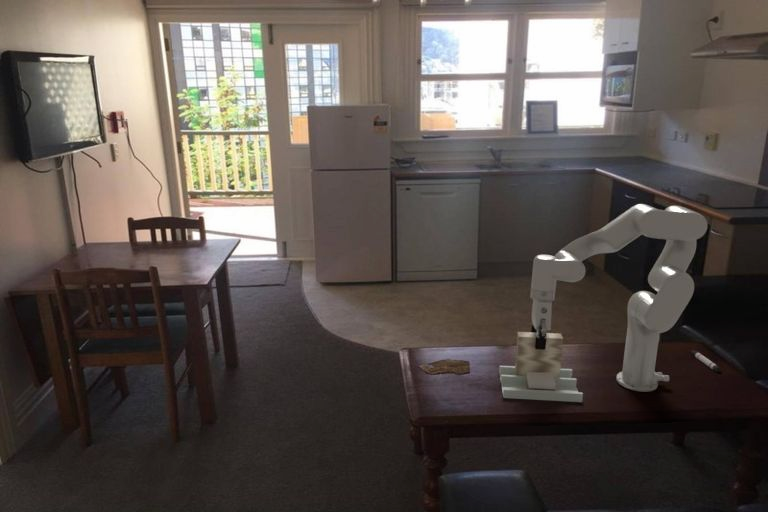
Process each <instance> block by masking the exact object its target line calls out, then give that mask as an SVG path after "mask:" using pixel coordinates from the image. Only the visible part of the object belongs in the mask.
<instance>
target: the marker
mask: <svg viewBox="0 0 768 512" xmlns="http://www.w3.org/2000/svg"><path fill="white" fill-rule="evenodd" d="M690 350H691V354H692V356H693V357H695V358H696V359H698V360H699V361H700V362H702V363H703V364H704V365H706V366H707V367H709V368H710V369H711V370H713V371H714V372H716V373H717V372H721V370H722V369H721V366H719V365H717V364H716V363H714V362H713V361H711V360H710V359H709V358H707V357H706V356H704V355H703V354H702V353H700V352H699V351H697V350H693V349H690Z"/></svg>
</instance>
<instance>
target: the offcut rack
mask: <svg viewBox="0 0 768 512" xmlns="http://www.w3.org/2000/svg"><path fill="white" fill-rule="evenodd" d="M498 369H499V371H498V373H499V374H498V375H499V379H500V384H501V389H502V390H501V391H502V397H503V398H504V399H515V400H516V399H517V400H518V399H519V400H537V401H550V402H551V401H555V402H556V401H557V402H568V403H569V402H572V403H583V396H584V393H583V392H580V391H578V388H577V383H578V382H577V381H578V379H577V378H575V377H573V368H561V369H560V378H558V377H554V379H555V382H556V385H555V391H546V390H528V389H527V387H526V381H527V376H519V375H515V365H499V368H498Z"/></svg>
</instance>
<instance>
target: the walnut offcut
mask: <svg viewBox="0 0 768 512" xmlns="http://www.w3.org/2000/svg"><path fill="white" fill-rule="evenodd" d="M526 387H527V389H528V390H546V391H555V389H538V388H529V386H528V382H527V381H526Z"/></svg>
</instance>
